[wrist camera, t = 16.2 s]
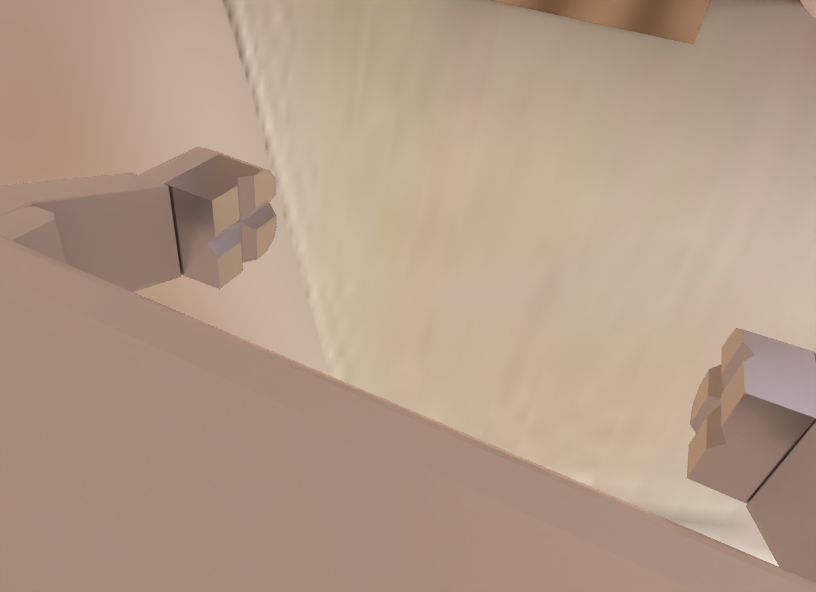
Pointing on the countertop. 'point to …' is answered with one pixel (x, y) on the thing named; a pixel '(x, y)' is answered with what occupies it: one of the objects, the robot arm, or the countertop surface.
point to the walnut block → (631, 14)
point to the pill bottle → (809, 7)
